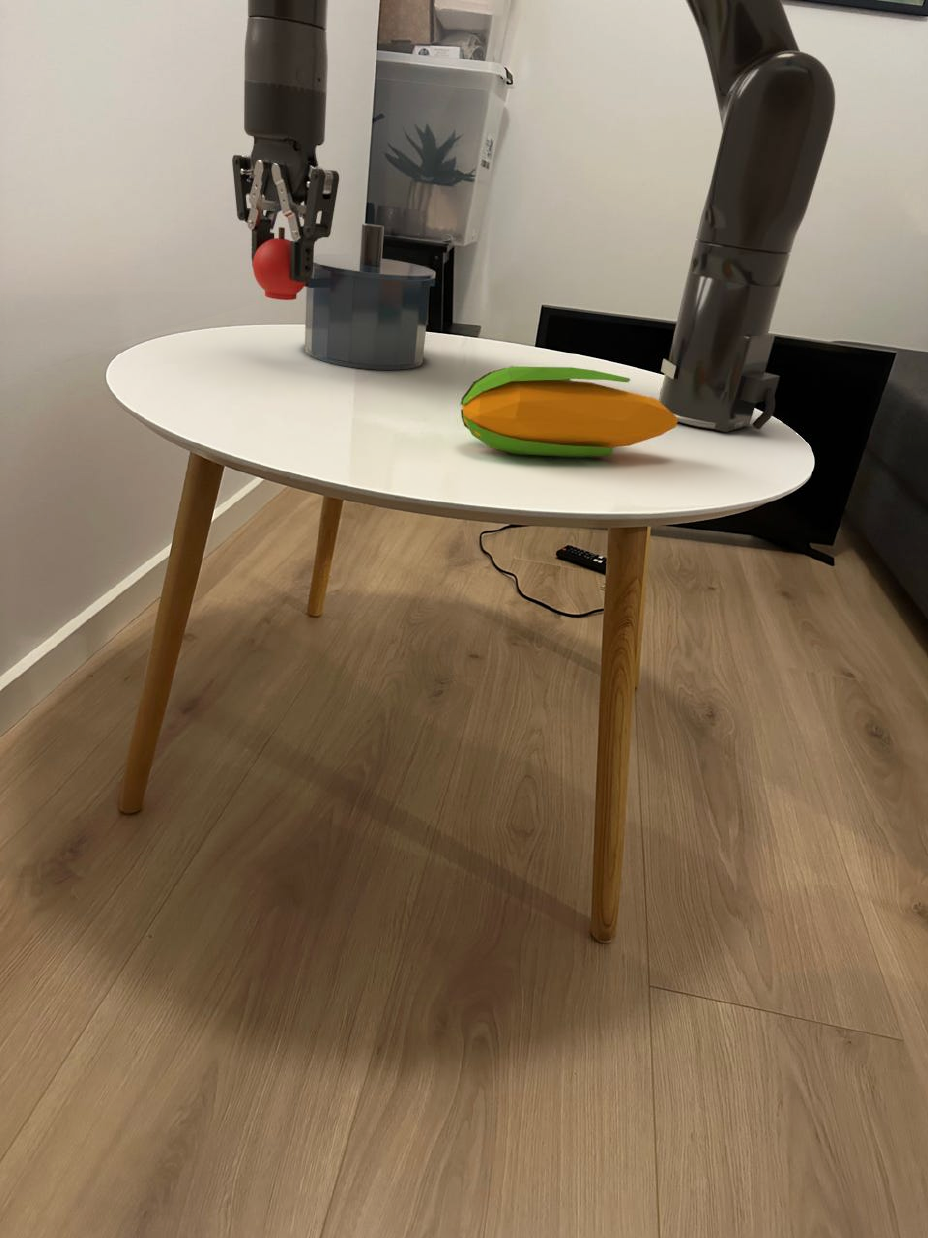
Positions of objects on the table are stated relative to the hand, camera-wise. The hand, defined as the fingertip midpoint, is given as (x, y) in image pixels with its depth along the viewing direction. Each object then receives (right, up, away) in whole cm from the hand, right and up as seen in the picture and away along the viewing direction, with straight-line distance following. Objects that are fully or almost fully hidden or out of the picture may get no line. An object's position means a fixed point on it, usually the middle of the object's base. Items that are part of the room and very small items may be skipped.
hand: (281, 274), depth 87 cm
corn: (+28, -21, -12) cm, 36 cm away
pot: (+7, -4, +13) cm, 15 cm away
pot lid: (+8, +4, +8) cm, 12 cm away
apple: (0, -2, +1) cm, 2 cm away
